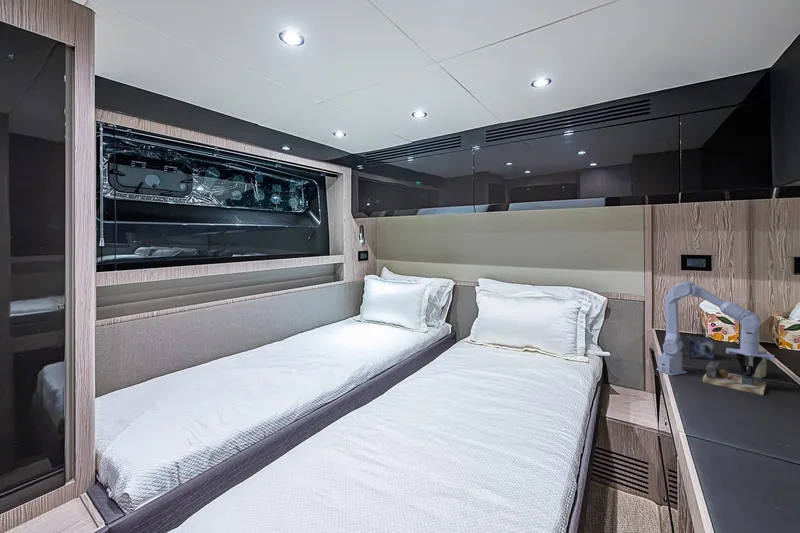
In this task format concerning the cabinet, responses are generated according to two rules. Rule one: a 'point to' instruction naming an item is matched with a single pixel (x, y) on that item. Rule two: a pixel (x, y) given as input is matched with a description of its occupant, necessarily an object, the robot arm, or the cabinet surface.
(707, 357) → the small box
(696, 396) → the cabinet surface
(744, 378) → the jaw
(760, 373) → the skincare box
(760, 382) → the press
